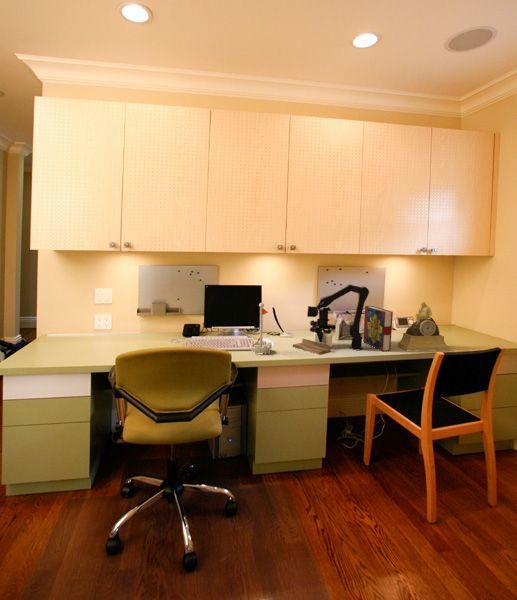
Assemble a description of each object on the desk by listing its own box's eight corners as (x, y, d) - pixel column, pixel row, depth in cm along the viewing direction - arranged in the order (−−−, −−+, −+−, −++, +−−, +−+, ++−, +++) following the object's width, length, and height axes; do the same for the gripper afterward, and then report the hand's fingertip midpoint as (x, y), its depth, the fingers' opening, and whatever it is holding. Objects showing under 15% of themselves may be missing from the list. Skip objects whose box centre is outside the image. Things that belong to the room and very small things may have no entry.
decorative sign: (349, 337, 289) (351, 317, 289) (352, 337, 288) (354, 317, 287) (334, 339, 271) (336, 318, 270) (337, 340, 270) (339, 318, 269)
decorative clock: (406, 351, 244) (410, 303, 240) (397, 346, 257) (400, 300, 253) (449, 350, 247) (453, 303, 243) (438, 345, 260) (442, 300, 256)
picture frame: (317, 343, 257) (318, 331, 256) (331, 346, 248) (332, 334, 247) (313, 344, 254) (313, 331, 253) (327, 347, 245) (328, 335, 244)
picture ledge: (303, 344, 256) (303, 338, 255) (329, 351, 239) (329, 345, 239) (292, 346, 249) (292, 340, 249) (318, 354, 233) (319, 347, 232)
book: (361, 342, 266) (362, 305, 263) (370, 341, 268) (372, 305, 264) (381, 351, 242) (383, 312, 238) (391, 351, 243) (393, 311, 240)
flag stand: (245, 351, 236) (246, 302, 232) (259, 348, 246) (260, 300, 242) (261, 356, 227) (262, 305, 223) (275, 352, 237) (277, 302, 233)
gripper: (323, 314, 261) (322, 337, 263) (304, 317, 249) (303, 341, 251) (336, 316, 252) (335, 340, 254) (317, 319, 240) (316, 344, 243)
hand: (322, 341), depth 251 cm, fingers closed on picture frame, 4 cm apart
